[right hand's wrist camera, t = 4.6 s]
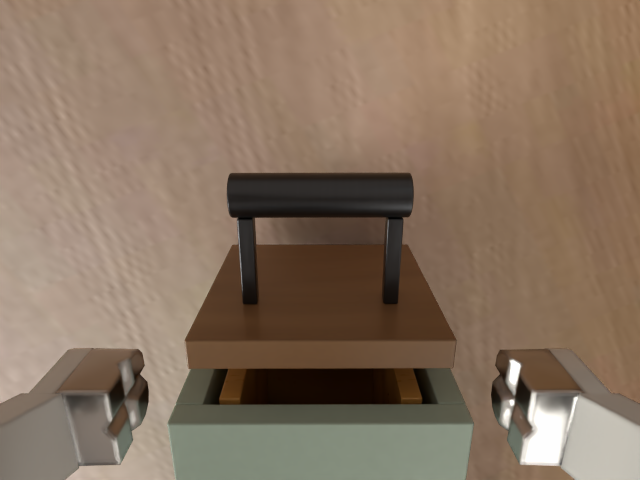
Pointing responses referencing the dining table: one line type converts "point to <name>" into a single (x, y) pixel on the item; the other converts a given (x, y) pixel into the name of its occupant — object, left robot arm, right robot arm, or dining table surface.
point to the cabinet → (320, 435)
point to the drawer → (320, 300)
